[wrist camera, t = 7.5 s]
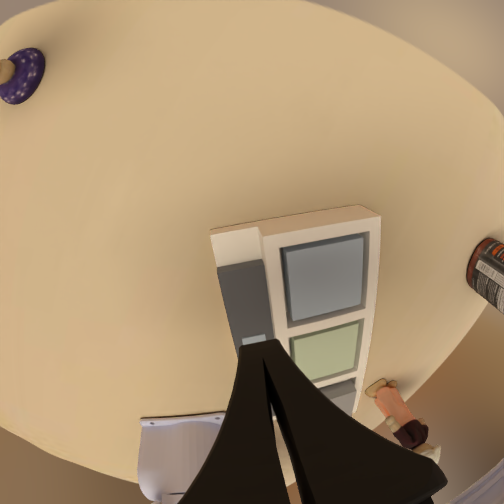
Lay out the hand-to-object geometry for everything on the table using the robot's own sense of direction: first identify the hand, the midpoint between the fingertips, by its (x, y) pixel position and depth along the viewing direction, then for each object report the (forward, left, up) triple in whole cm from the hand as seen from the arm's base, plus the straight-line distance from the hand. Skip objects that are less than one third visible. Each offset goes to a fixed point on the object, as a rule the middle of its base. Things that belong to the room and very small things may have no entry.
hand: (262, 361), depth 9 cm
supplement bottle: (+25, -6, -10) cm, 27 cm away
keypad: (+4, -8, -9) cm, 13 cm away
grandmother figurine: (+14, -20, -10) cm, 26 cm away
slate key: (+5, -1, -8) cm, 10 cm away
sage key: (+5, -8, -8) cm, 12 cm away
